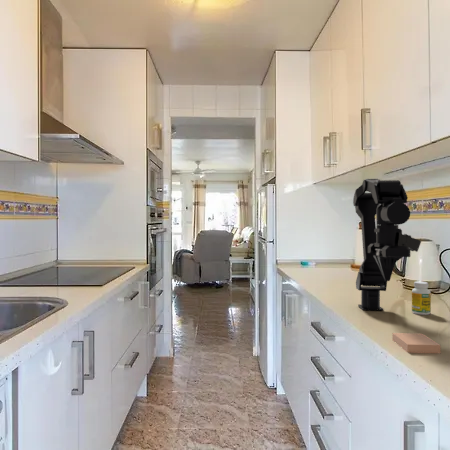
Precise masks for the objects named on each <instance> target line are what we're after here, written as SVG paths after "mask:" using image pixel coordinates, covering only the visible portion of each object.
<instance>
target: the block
mask: <svg viewBox="0 0 450 450" xmlns="http://www.w3.org/2000/svg"><path fill="white" fill-rule="evenodd" d="M391 339H392V341H393V342H394V343H395V342H396V343H395V344H396V345H398V346H399V347H402V348H401V349H403V350H404V351H405V352H406V353H412V354H413V353H415V354H418V353H419V354H441V344H439V343H438V342H436V341H434V340H433V339H432V338H430V337H428V336H427V335H425V334H423V333H415V332H414V333H413V332H412V333H411V332H410V333H409V332H403V333H402V332H392V337H391Z"/></svg>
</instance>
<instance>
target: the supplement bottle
mask: <svg viewBox="0 0 450 450" xmlns="http://www.w3.org/2000/svg"><path fill="white" fill-rule="evenodd" d="M413 287H414V288H412V290H411V312H412V313H413V314H415V315H421V316H422V315H423V316H425V315H426V316H427V315H430V314H431V308H432V307H431V305H432V304H431V302H432V292H431V290H430V289H428V288H429V282H426V281H414V282H413Z"/></svg>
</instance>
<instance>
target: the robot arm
mask: <svg viewBox="0 0 450 450" xmlns="http://www.w3.org/2000/svg"><path fill="white" fill-rule="evenodd" d="M362 181H363V182H362V183H361V185H360V186H359V187H358V188H355V191H354V195H353V200H352V204H353V207H354V208H355V213H356V215H358V217H359V218H360V222H361V223H360V224H361V225H360V226H361V237H362V240H361V241H362V253H363V255H362V256H363V261H362V263H361V264H360V267H359V268H358V269H359V270H358V273H357V277H356V280H355V289H356V290H357V291H361V296H360V299H361V300H360V302H361V304H357V307H359V308H360V309H361V310H363V311H384V308H383V307H382V306H381V299H380V298H381V291H382V292H387V287H388V282H390V281H391V278H392V275H393V272H394V267H395V265H396V263H397V262H398V261H399V260H401V259H402V258H410V257H411V252H415V253H417V252H418V251H419V248H420V246H421V243H422V240H419V239H417V238H414V237H412V235H410V234H407V233H403V230H402V229H401V228H399V225H403V224H405V223H407V221H408V220H410V216H411V211H410V208H409V207H408V205H407V203H408V195H407V192H406V190H405V188H404V185H403V184H402V182H401V180H399V179H394V180H392V179H389V180H387V179H385V180H384V179H383V180H382V179H378V178H365V179H363V180H362Z"/></svg>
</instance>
